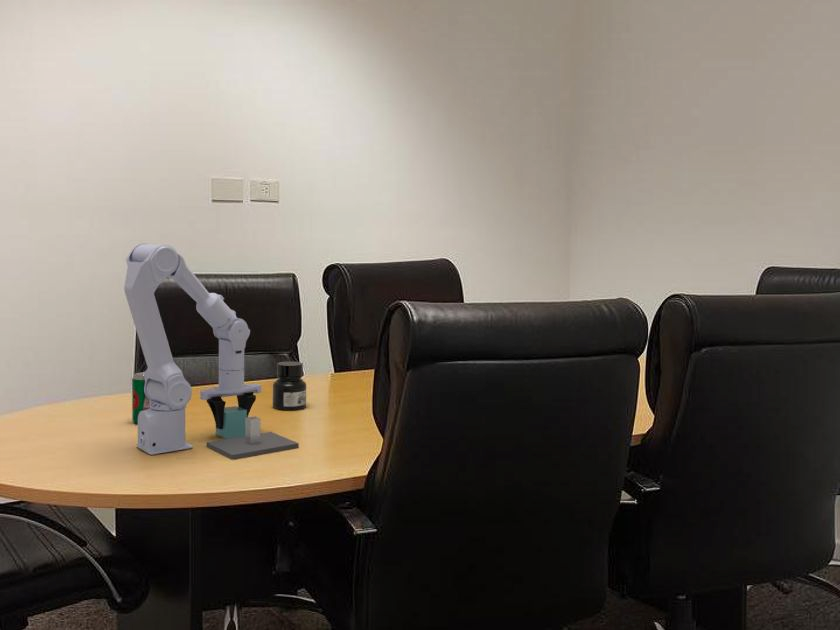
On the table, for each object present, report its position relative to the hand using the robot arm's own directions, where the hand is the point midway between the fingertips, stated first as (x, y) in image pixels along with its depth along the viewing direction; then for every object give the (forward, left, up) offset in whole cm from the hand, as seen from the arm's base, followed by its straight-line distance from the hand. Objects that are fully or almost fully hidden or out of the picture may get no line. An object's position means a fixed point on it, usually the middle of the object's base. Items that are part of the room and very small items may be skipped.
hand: (231, 426), depth 181 cm
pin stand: (-1, -12, -2) cm, 12 cm away
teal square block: (0, 0, -2) cm, 2 cm away
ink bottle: (+26, +17, -2) cm, 31 cm away
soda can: (-12, +22, -2) cm, 25 cm away
